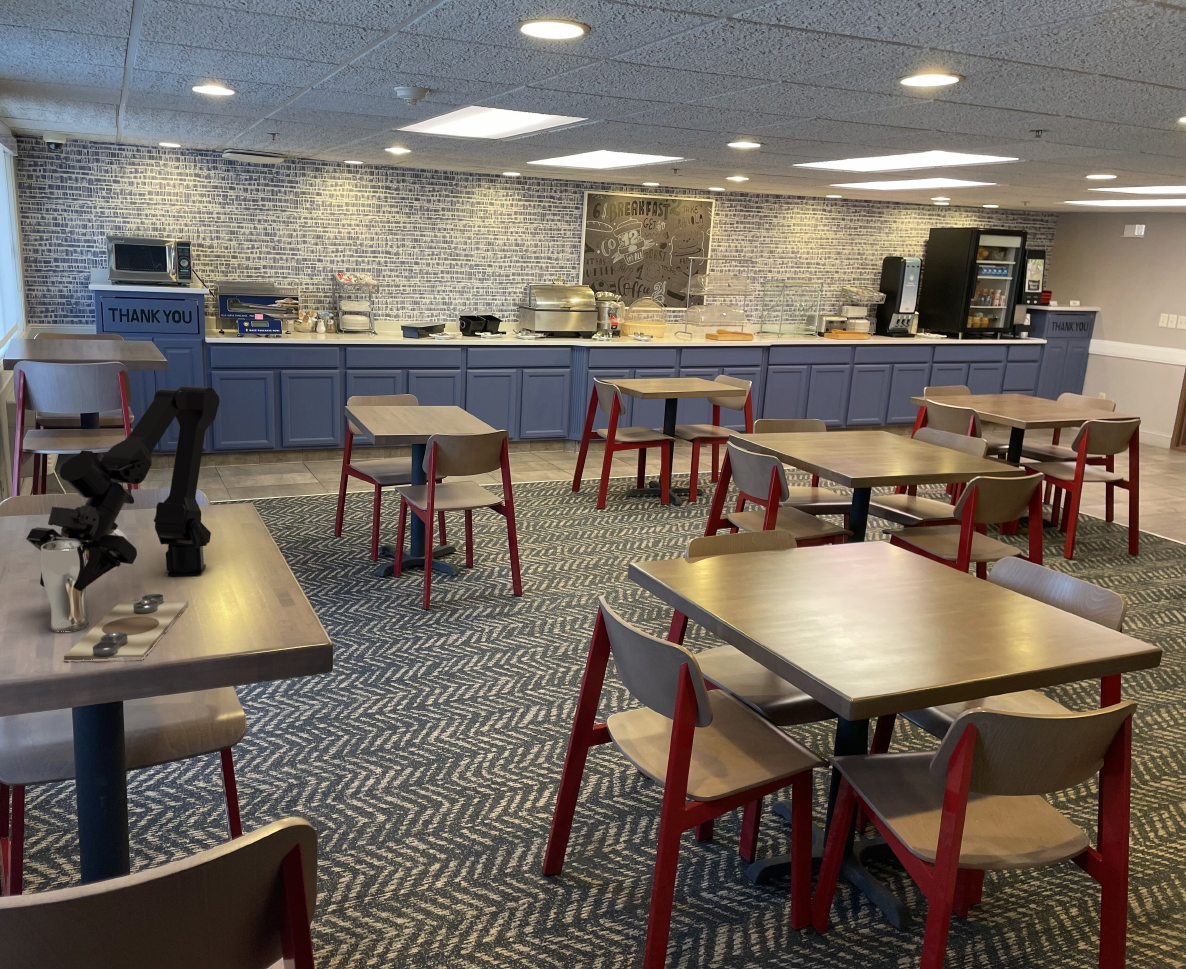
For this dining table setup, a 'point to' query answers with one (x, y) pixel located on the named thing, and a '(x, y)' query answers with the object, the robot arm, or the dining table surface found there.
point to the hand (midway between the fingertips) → (60, 587)
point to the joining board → (129, 630)
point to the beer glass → (64, 583)
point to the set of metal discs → (116, 639)
